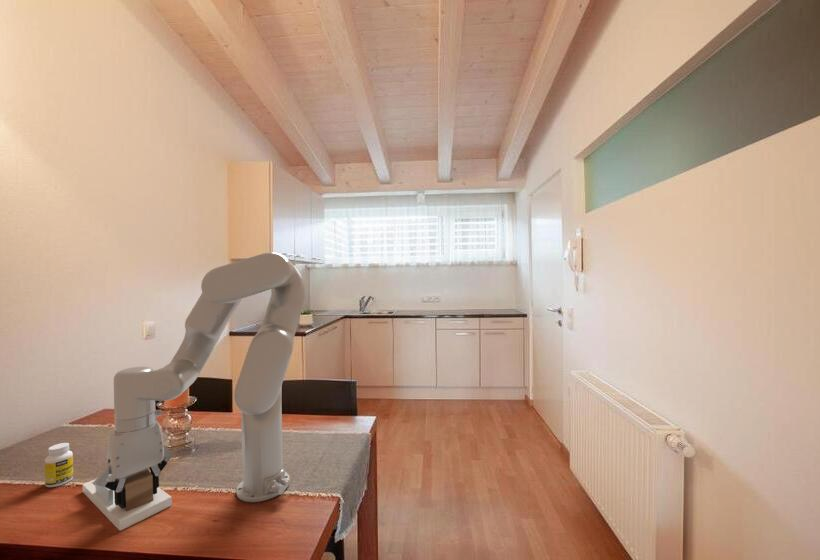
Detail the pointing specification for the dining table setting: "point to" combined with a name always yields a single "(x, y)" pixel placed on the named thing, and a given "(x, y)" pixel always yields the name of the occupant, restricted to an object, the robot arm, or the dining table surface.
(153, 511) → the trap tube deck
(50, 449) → the supplement bottle
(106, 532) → the dining table surface
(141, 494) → the walnut block
